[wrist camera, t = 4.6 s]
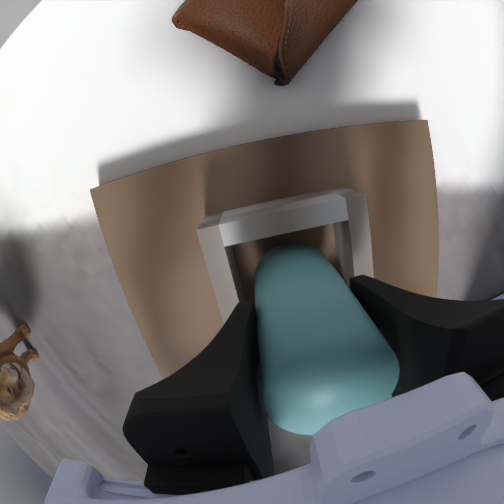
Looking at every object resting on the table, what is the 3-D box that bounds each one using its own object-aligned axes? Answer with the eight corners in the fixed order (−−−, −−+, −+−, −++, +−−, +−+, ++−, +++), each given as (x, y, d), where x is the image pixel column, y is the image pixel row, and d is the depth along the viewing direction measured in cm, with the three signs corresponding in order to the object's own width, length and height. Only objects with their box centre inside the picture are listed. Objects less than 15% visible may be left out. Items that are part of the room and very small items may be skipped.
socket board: (417, 121, 15) (457, 117, 11) (426, 314, 19) (454, 344, 15) (98, 187, 16) (61, 198, 12) (168, 372, 20) (157, 412, 16)
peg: (328, 235, 14) (406, 320, 7) (333, 305, 15) (390, 416, 8) (247, 249, 14) (251, 355, 7) (260, 319, 16) (273, 443, 8)
